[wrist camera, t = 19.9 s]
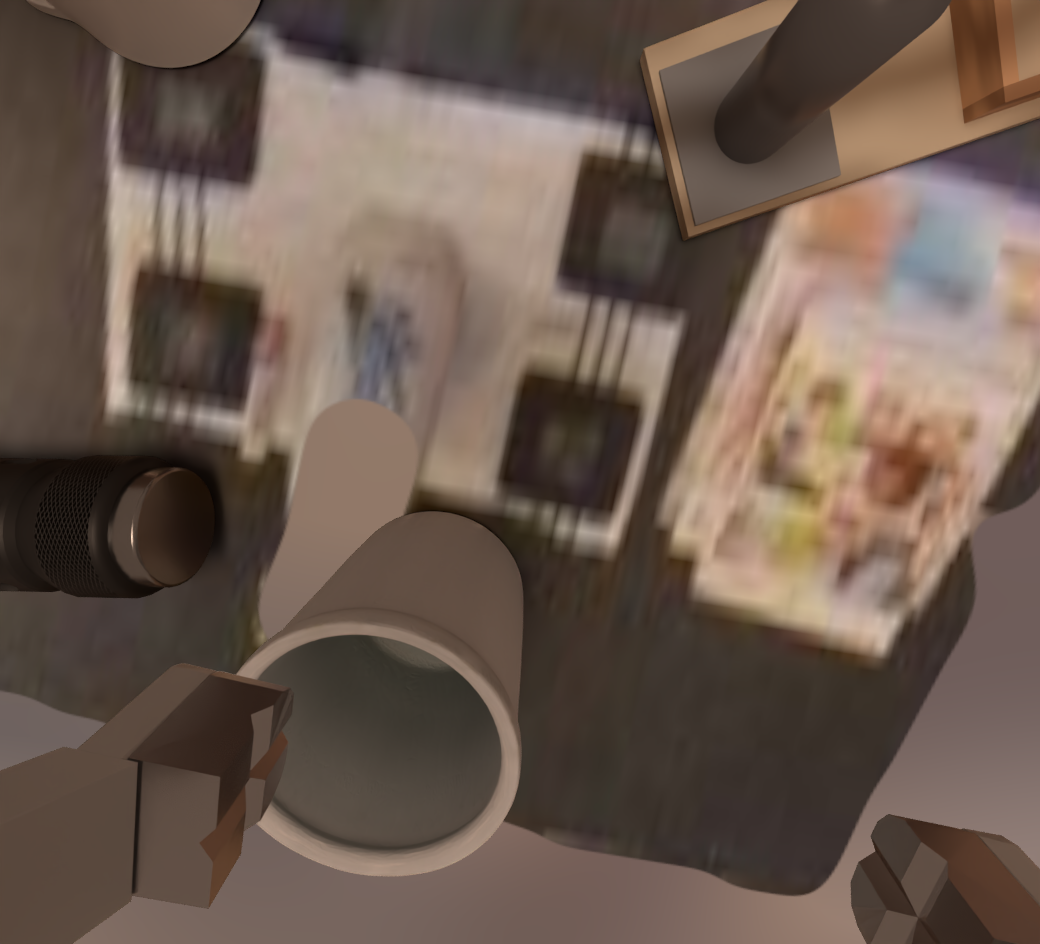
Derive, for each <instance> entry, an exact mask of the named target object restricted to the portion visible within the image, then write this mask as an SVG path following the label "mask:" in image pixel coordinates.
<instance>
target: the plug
mask: <svg viewBox="0 0 1040 944" xmlns="http://www.w3.org/2000/svg"><path fill="white" fill-rule="evenodd" d="M950 2H951V0H798V1H797V3H796V4H795V5H794V7H793V8H792V9H791V11H790V12H789V13H788V15H787V16H786V17H785V19H784V20H783V21H782V23H781V24H780V25H779V27H778V28H777V29H776V31H775V32H774V33H773V35H772V36H771V37H770V39H769V40H768V41H767V43H766V44H765V45H764V47H763V48H762V49H761V51H760V52H759V53H758V55H757V56H756V57H755V59H754V60H753V61H752V63H751V64H750V65H749V67H748V68H747V69H746V71H745V72H744V73H743V75H742V76H741V77H740V79H739V80H738V81H737V82H736V84H735V85H734V86H733V88H732V89H731V90H730V92H729V93H728V94H727V96H726V97H725V98H724V100H723V101H722V103H721V105H720V106H719V109H718V111H717V114H716V118H715V125H714V130H715V137H716V141H717V143H718V146H719V147H720V149H721V151H722V152H723V153H724V154H725V155H726V156H727V157H728V158H730V159H731V160H733V161H735V162H738V163H743V164H752V163H757V162H760V161H762V160H765V159H766V158H768V157H769V156H771V155H772V154H773V153H774V152H776V151H777V150H778V149H779V148H781V147H782V146H783V145H784V144H786V143H787V142H788V141H789V140H791V139H792V138H793V137H794V136H795V135H797V134H798V133H799V132H800V131H802V130H803V129H804V128H805V127H807V126H808V125H809V124H810V123H812V122H813V121H814V120H815V119H817V118H818V117H819V116H820V115H821V114H823V113H824V112H825V111H826V110H828V109H829V108H830V107H831V106H833V105H834V104H835V103H836V102H838V101H839V100H840V99H841V98H843V97H844V96H845V95H846V94H848V93H849V92H850V91H851V90H852V89H854V88H855V87H856V86H857V85H859V84H860V83H861V82H862V81H864V80H865V79H866V78H867V77H869V76H870V75H871V74H872V73H874V72H875V71H876V70H877V69H878V68H880V67H881V66H882V65H883V64H885V63H886V62H887V61H888V60H890V59H891V58H892V57H893V56H895V55H896V54H897V53H898V52H900V51H901V50H902V49H903V48H904V47H906V46H907V45H908V44H909V43H911V42H912V41H913V40H914V39H916V38H917V37H918V36H919V35H921V34H922V33H923V32H924V31H926V30H927V29H928V28H929V27H931V26H932V25H933V24H934V23H935V22H936V21H937V20H938V19H939V18H940V16H941V15H942V14H943V13H944V12H945V10H946V9H947V7H948V6H949V4H950Z"/></svg>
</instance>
